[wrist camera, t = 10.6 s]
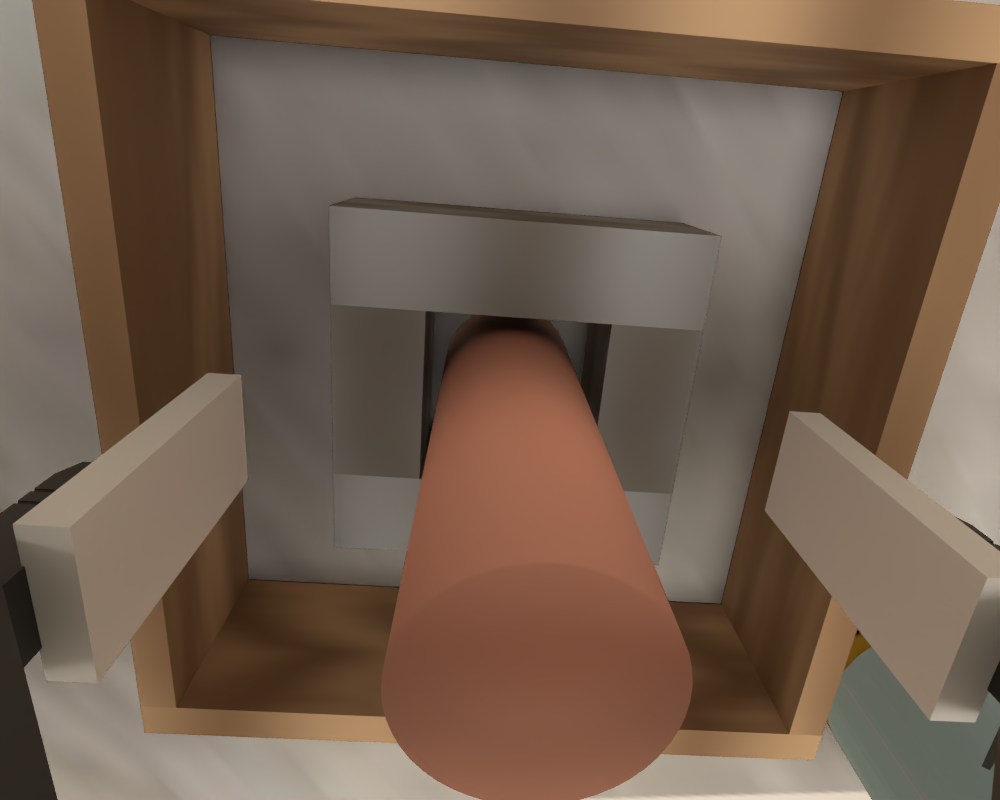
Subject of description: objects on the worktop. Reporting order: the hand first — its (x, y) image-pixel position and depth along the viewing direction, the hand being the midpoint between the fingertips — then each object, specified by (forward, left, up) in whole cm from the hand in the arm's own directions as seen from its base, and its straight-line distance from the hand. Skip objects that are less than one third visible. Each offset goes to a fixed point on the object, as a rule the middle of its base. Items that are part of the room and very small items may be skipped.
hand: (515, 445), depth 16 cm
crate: (0, 0, -6) cm, 6 cm away
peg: (0, 0, -6) cm, 6 cm away
